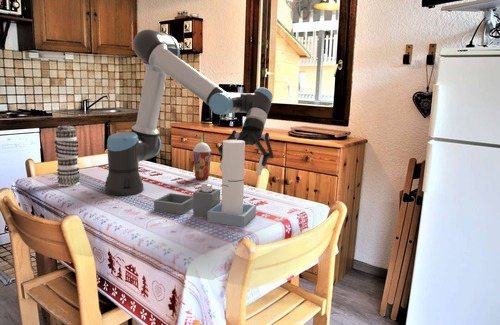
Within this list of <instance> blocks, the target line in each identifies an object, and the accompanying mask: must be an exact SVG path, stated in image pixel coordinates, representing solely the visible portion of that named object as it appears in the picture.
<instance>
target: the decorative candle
mask: <svg viewBox="0 0 500 325" xmlns="http://www.w3.org/2000/svg"><path fill="white" fill-rule="evenodd" d="M76 131H77V129H76V128H75V127H74V126H73V125H58V126H57V128H56V129H55V140H54V142H53V143H54V144H55V146H54V149H55V151H54V152H55V153H56V154H55V157H56V159H57V170H56V171H57V183H58V184H57V185H59V186H58V187H60V186H72V187H76V186H75V185H77V186H79V185H81V183H80V181H81V179H80V177H81V176H80V175H79V173H80V171H79V170H80V167H79V163H78V158H79V153H78V152H79V150H78V149H77V148H78V147H79V145H78V144H79V141H78V140H77V138H78V136H77V132H76ZM78 184H79V185H78Z"/></svg>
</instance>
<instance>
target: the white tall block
mask: <svg viewBox="0 0 500 325" xmlns="http://www.w3.org/2000/svg"><path fill="white" fill-rule="evenodd" d="M222 144H223V159H222V171H221V201H222V213H229V214H237V215H243V204H244V194H245V193H244V188H245V185H244V184H245V159H246V158H245V155H246V154H245V153H246V152H245V151H246V145H245V141H242V140H237V139H235V140H226V139H224V140H222Z"/></svg>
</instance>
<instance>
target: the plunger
mask: <svg viewBox="0 0 500 325" xmlns="http://www.w3.org/2000/svg"><path fill="white" fill-rule="evenodd" d="M201 188H202V192H204V193H212V189H213V184H211V183H203V184H201Z"/></svg>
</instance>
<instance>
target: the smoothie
mask: <svg viewBox="0 0 500 325" xmlns="http://www.w3.org/2000/svg"><path fill="white" fill-rule="evenodd" d="M192 152H193V165H194V166H193V167H194V177H195V179H196V180H199V181H206V180H208V179H209V177H210V171H211V156H212V149H211V147H210V146H209V145H208V143H206V142H204V137H203V136H201V141H200V142H198V143H196V144H195V146H194V148H193V149H192Z"/></svg>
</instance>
